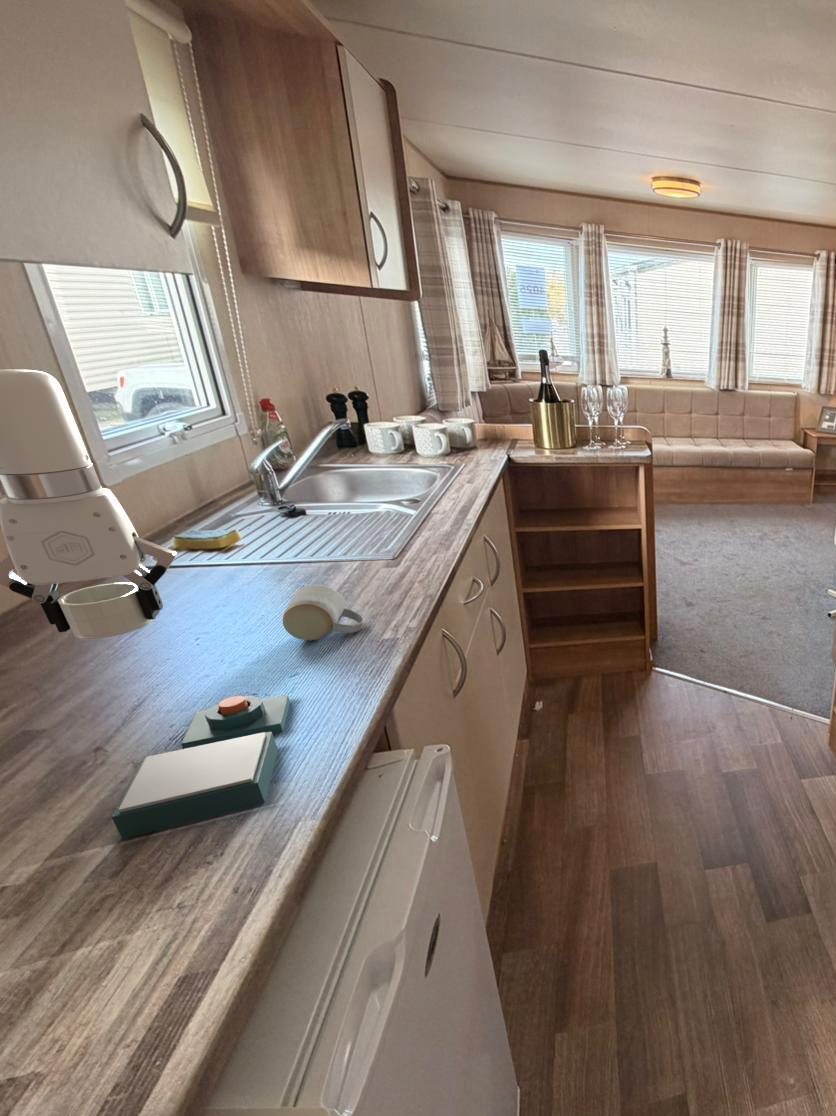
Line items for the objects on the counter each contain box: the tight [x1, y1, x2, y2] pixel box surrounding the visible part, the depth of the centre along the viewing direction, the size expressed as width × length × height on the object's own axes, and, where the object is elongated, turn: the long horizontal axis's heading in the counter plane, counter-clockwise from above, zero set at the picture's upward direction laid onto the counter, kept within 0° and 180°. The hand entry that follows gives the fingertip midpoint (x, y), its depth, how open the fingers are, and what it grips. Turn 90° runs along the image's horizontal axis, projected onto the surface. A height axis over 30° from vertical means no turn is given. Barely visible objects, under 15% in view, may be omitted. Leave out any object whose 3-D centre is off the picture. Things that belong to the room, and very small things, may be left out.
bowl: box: [57, 582, 153, 640], centre depth 80 cm, size 7×7×5 cm
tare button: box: [217, 695, 248, 715], centre depth 85 cm, size 3×3×1 cm
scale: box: [111, 732, 279, 839], centre depth 74 cm, size 12×11×3 cm
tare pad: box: [180, 694, 291, 749], centre depth 85 cm, size 10×8×3 cm
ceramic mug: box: [282, 584, 365, 642], centre depth 110 cm, size 11×8×8 cm
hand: (111, 620), depth 80 cm, fingers closed on bowl, 7 cm apart
